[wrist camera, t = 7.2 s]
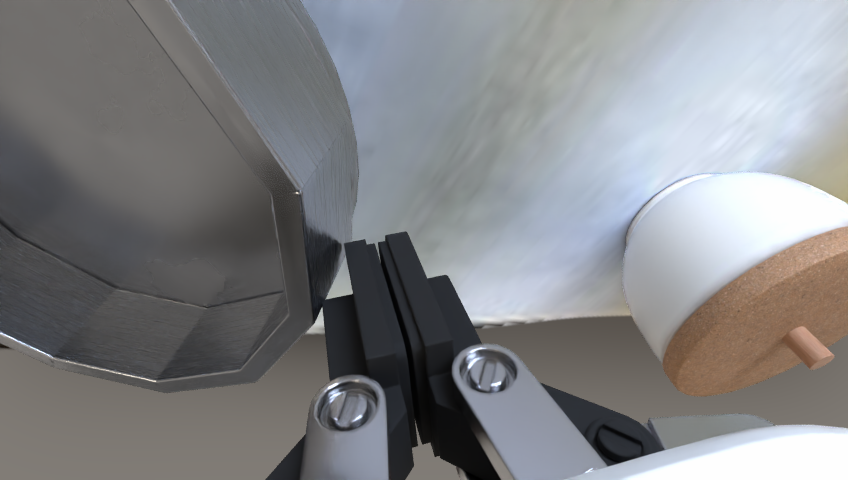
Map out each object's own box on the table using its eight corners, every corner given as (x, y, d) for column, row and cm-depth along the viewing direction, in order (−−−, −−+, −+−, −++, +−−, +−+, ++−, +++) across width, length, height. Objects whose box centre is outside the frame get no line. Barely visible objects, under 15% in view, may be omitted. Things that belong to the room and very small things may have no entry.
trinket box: (678, 110, 20) (882, 258, 14) (808, 155, 25) (1006, 281, 19) (551, 279, 26) (651, 438, 20) (675, 290, 31) (789, 421, 25)
